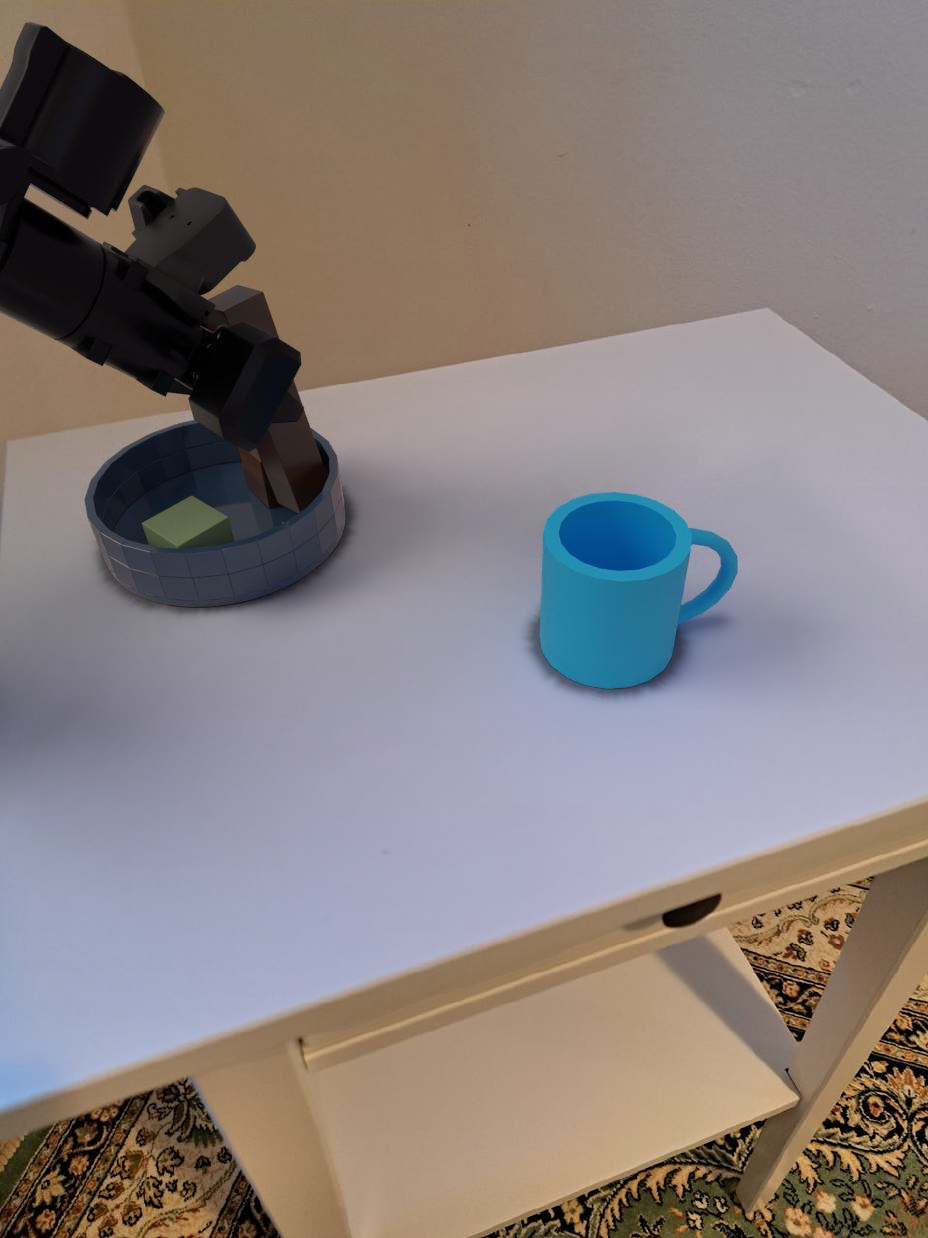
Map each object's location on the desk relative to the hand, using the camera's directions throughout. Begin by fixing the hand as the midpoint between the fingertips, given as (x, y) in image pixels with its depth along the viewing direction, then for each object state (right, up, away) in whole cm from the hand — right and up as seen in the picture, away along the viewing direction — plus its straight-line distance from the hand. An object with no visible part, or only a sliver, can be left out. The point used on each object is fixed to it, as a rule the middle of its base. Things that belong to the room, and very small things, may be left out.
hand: (284, 404), depth 60 cm
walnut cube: (-2, -5, +7) cm, 8 cm away
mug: (+23, -16, -5) cm, 28 cm away
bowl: (-5, -8, +4) cm, 10 cm away
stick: (+1, -6, +4) cm, 7 cm away
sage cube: (-6, -11, 0) cm, 12 cm away
